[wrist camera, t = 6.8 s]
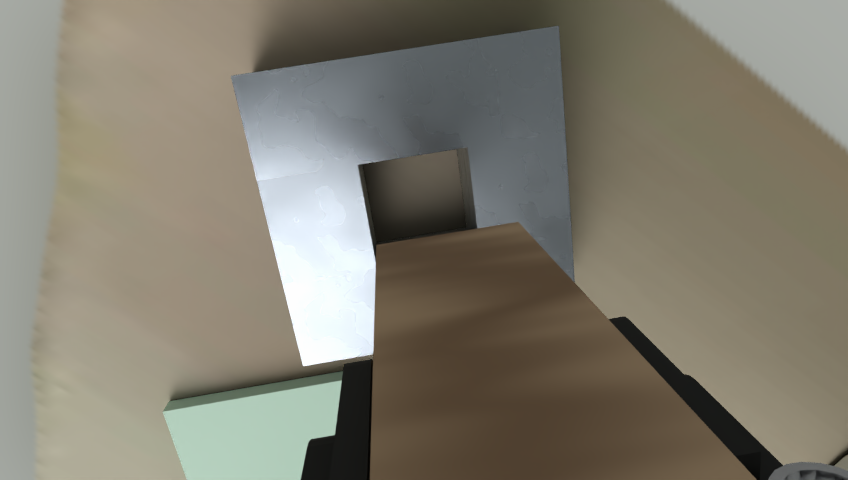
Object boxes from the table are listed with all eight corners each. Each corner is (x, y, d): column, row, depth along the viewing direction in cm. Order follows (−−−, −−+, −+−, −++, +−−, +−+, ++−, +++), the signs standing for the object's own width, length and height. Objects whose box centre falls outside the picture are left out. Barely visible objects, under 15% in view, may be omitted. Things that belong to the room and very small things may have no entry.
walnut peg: (518, 221, 15) (762, 485, 5) (530, 348, 16) (746, 745, 7) (376, 244, 15) (366, 555, 5) (399, 370, 16) (426, 807, 6)
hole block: (532, 31, 27) (558, 25, 23) (552, 288, 31) (576, 318, 27) (251, 75, 26) (230, 75, 22) (312, 329, 30) (303, 366, 27)
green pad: (373, 365, 31) (373, 374, 31) (405, 523, 35) (405, 535, 34) (169, 401, 31) (162, 411, 30) (223, 556, 35) (219, 570, 34)
